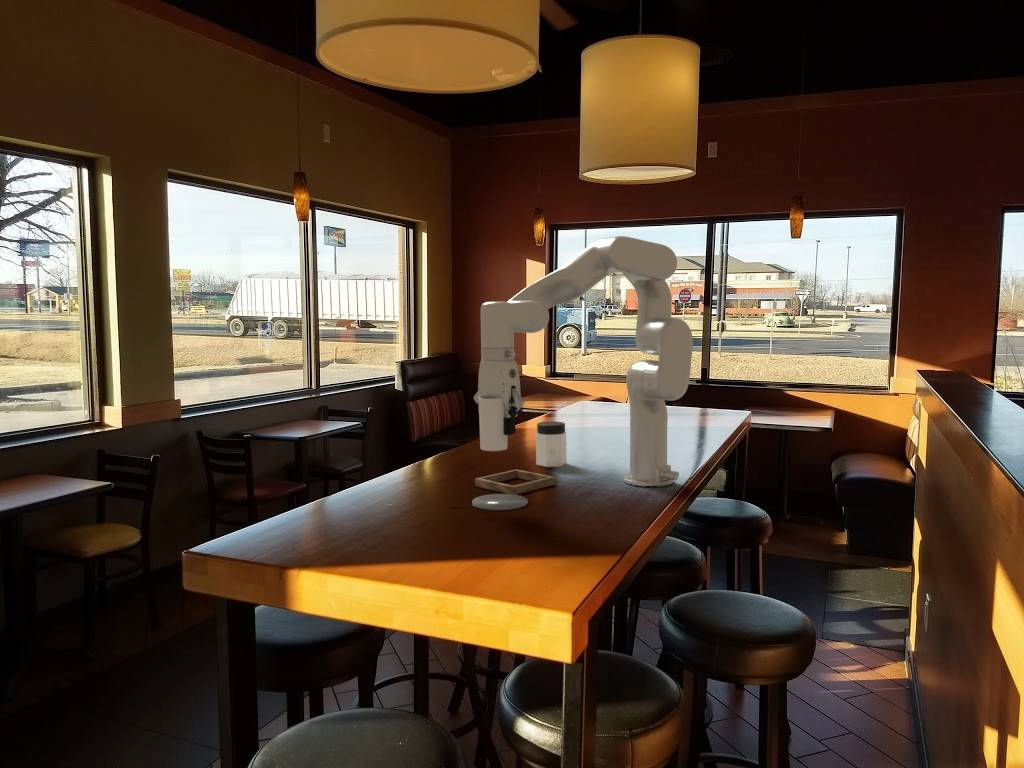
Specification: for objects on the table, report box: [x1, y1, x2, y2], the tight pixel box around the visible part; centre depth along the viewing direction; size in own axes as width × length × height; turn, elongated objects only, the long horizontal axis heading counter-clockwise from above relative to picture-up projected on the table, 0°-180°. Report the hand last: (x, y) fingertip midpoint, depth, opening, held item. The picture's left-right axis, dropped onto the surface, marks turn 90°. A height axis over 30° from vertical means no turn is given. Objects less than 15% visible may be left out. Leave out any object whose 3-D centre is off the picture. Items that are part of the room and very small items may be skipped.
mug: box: [478, 396, 509, 452], centre depth 177 cm, size 10×7×12 cm, turn 150°
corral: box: [474, 468, 556, 495], centre depth 197 cm, size 14×15×2 cm
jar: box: [535, 420, 568, 468], centre depth 222 cm, size 9×8×12 cm
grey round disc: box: [471, 493, 529, 511], centre depth 179 cm, size 13×13×1 cm
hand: (498, 432), depth 177 cm, fingers closed on mug, 6 cm apart
